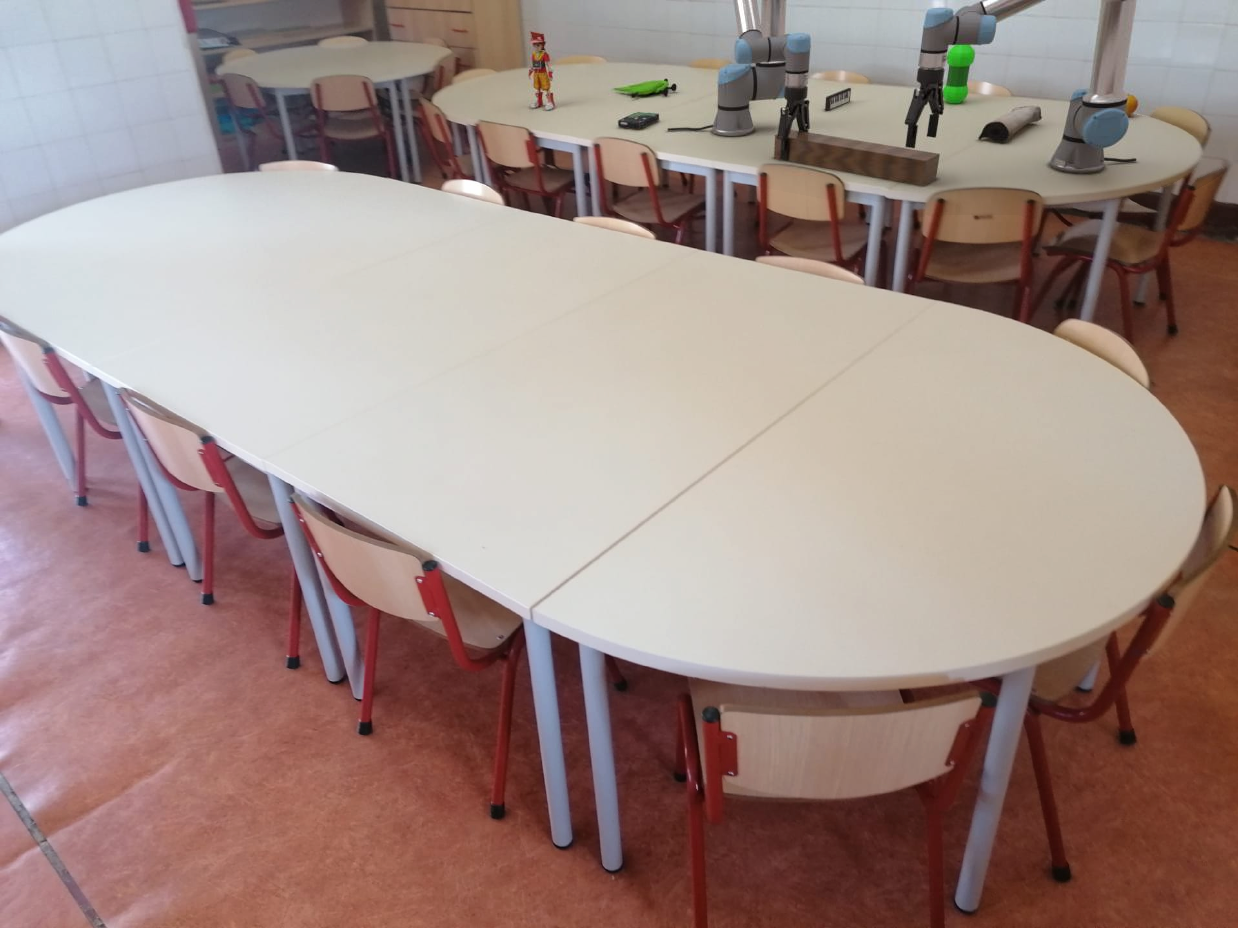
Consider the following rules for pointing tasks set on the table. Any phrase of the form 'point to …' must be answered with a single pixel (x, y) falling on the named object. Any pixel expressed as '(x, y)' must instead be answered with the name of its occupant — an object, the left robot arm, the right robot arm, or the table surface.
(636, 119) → the disk drive
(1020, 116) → the rolled mat
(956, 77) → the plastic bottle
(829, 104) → the midi keyboard
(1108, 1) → the right robot arm
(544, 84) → the toy
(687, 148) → the table surface
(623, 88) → the toy
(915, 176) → the thick board
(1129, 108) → the fruit
